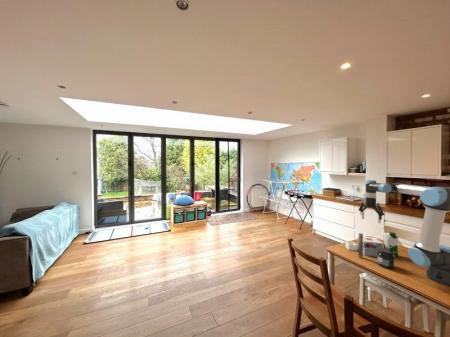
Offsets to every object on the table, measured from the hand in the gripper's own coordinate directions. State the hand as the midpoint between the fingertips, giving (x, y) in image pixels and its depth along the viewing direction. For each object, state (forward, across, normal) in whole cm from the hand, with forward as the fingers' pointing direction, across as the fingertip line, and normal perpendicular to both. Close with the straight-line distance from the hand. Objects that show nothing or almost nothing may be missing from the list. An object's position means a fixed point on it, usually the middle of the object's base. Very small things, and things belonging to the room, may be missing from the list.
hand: (370, 220), depth 165 cm
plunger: (+25, 0, +1) cm, 25 cm away
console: (+28, 0, +1) cm, 28 cm away
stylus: (+28, -4, +18) cm, 34 cm away
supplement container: (+28, -19, +13) cm, 37 cm away
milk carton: (+28, -9, -11) cm, 32 cm away
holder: (+28, +11, +9) cm, 32 cm away
